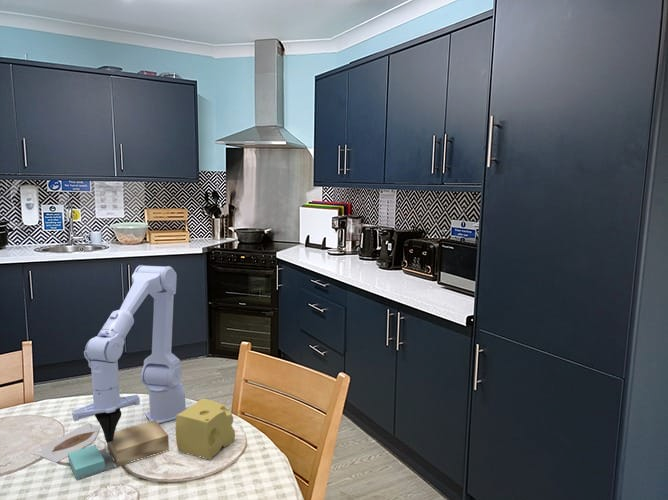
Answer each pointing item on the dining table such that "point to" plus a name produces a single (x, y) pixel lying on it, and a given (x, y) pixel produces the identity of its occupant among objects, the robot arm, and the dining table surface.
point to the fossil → (70, 443)
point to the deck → (137, 442)
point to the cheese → (204, 429)
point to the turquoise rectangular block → (86, 461)
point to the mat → (108, 464)
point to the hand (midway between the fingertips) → (109, 440)
